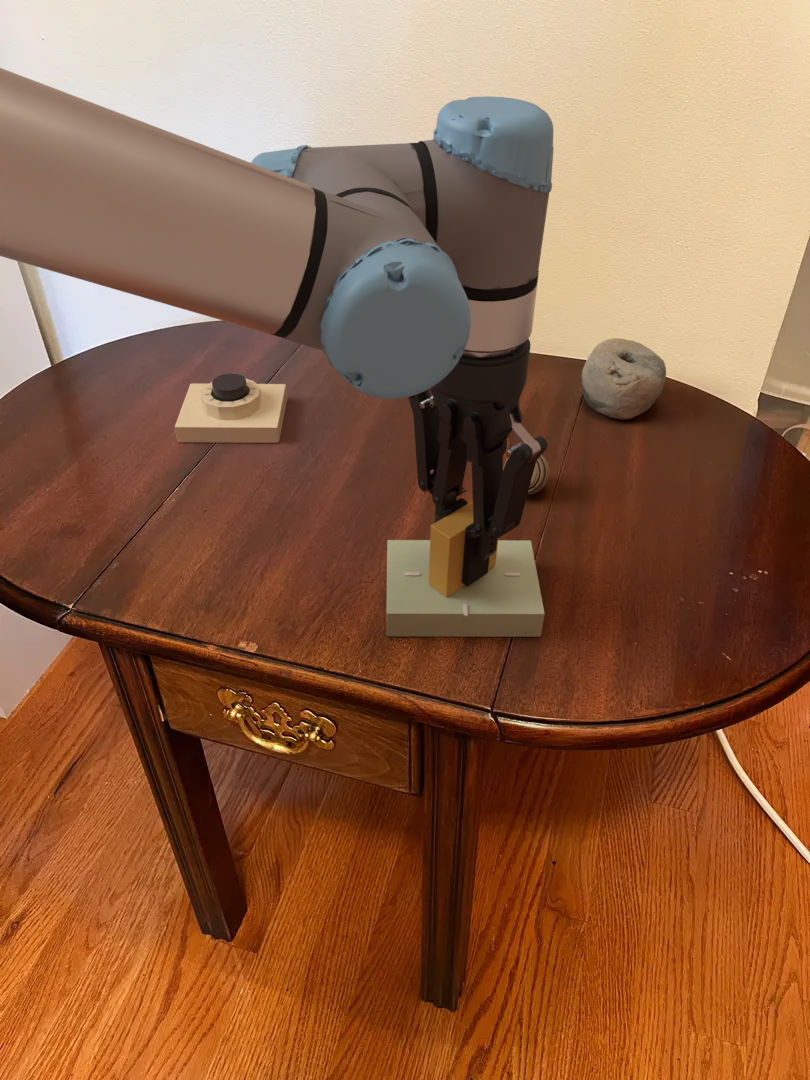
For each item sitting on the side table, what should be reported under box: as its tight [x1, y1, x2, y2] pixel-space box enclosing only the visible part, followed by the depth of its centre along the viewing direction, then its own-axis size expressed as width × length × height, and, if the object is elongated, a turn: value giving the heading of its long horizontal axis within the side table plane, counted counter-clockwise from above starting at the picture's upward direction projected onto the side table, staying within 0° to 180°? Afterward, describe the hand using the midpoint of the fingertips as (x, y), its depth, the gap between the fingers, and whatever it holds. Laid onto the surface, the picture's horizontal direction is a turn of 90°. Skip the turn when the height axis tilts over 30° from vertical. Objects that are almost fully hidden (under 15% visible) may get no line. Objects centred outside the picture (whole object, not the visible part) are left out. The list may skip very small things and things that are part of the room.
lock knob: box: [429, 500, 499, 597], centre depth 75 cm, size 6×2×7 cm, turn 133°
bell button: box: [211, 372, 248, 402], centre depth 100 cm, size 4×4×2 cm
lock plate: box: [385, 539, 546, 638], centre depth 79 cm, size 14×11×3 cm
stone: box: [581, 337, 667, 420], centre depth 104 cm, size 10×10×10 cm
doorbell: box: [174, 377, 288, 444], centre depth 101 cm, size 12×10×4 cm
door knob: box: [503, 454, 551, 496], centre depth 91 cm, size 5×5×5 cm
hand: (462, 568), depth 77 cm, fingers closed on lock knob, 2 cm apart
